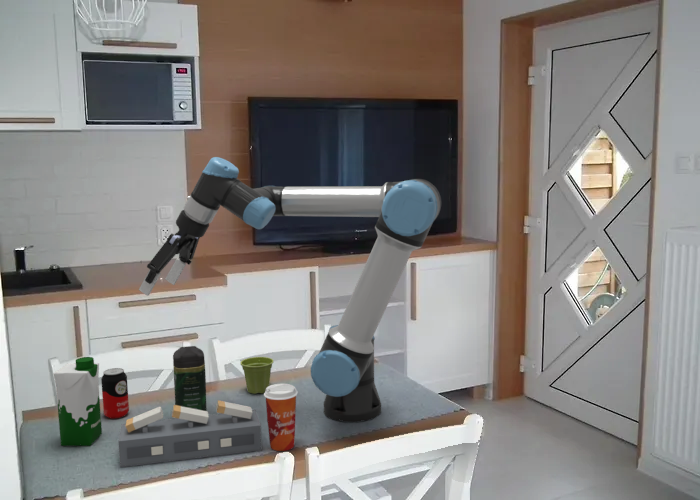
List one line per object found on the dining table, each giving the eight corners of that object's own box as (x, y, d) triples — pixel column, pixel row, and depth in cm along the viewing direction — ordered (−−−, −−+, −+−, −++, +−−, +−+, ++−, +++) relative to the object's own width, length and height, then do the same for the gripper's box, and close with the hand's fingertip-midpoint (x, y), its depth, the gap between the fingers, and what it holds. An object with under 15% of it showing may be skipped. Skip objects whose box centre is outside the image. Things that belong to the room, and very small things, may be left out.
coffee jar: (208, 423, 174) (205, 352, 172) (176, 427, 172) (172, 355, 170) (205, 410, 184) (202, 342, 181) (175, 413, 181) (171, 345, 179)
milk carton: (92, 447, 161) (86, 365, 158) (54, 447, 162) (48, 365, 159) (107, 432, 170) (101, 353, 167) (70, 432, 170) (64, 353, 167)
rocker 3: (248, 413, 164) (250, 406, 164) (250, 419, 160) (252, 412, 160) (215, 406, 161) (217, 400, 161) (216, 412, 158) (218, 405, 158)
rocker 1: (163, 412, 159) (160, 406, 158) (163, 418, 155) (160, 411, 155) (129, 426, 157) (126, 419, 157) (128, 432, 154) (125, 426, 153)
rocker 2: (205, 418, 161) (207, 411, 161) (206, 423, 158) (208, 417, 158) (171, 411, 159) (173, 404, 159) (171, 417, 156) (173, 410, 155)
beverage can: (102, 420, 177) (99, 375, 175) (105, 411, 183) (102, 368, 182) (127, 418, 179) (125, 373, 177) (130, 409, 185) (127, 366, 183)
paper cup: (271, 455, 156) (269, 396, 154) (261, 442, 163) (259, 385, 161) (304, 449, 159) (302, 390, 157) (293, 436, 166) (291, 380, 164)
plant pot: (234, 392, 197) (233, 363, 195) (257, 383, 204) (256, 354, 203) (259, 398, 191) (258, 368, 190) (281, 388, 199) (280, 359, 198)
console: (256, 433, 168) (255, 404, 167) (261, 451, 158) (260, 421, 157) (123, 448, 161) (121, 419, 160) (119, 468, 151) (117, 436, 150)
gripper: (205, 203, 181) (168, 270, 186) (159, 213, 157) (118, 288, 162) (228, 219, 180) (190, 285, 185) (186, 231, 156) (144, 306, 161)
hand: (157, 287), depth 173 cm, fingers open, 13 cm apart
